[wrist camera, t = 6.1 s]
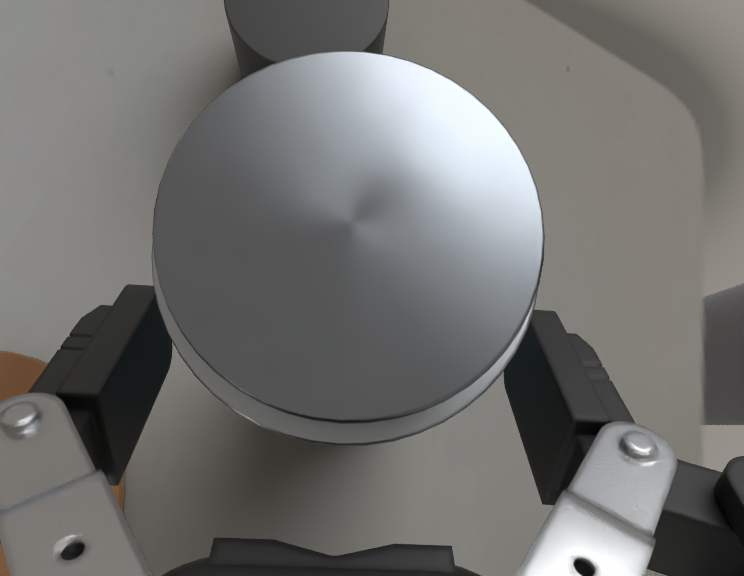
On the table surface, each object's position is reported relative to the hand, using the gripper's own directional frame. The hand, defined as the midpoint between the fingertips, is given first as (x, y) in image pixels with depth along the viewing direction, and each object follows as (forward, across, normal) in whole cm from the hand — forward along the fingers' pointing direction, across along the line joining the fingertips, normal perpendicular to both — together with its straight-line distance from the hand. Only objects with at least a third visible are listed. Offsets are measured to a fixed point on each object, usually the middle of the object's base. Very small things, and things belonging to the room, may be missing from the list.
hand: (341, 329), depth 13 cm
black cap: (+17, +2, -2) cm, 17 cm away
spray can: (+8, 0, +7) cm, 10 cm away
